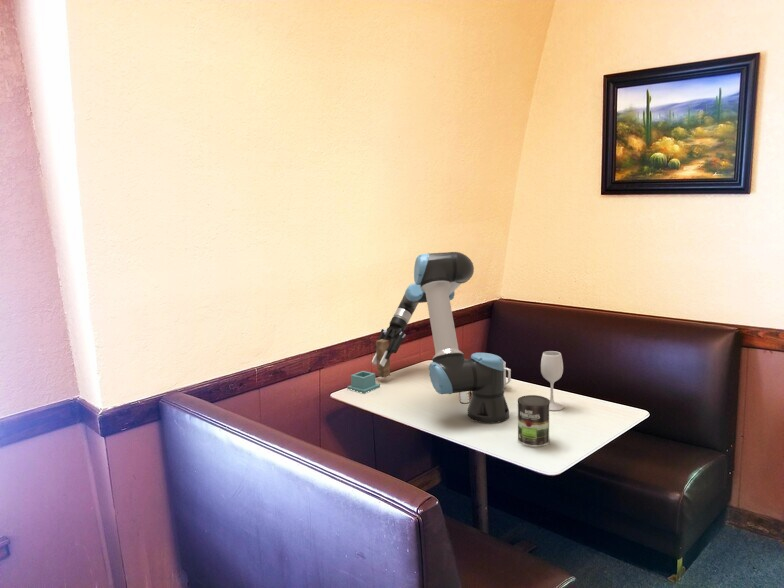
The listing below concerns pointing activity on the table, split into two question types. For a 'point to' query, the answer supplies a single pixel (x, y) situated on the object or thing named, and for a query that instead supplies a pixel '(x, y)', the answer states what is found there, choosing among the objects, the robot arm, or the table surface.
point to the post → (380, 350)
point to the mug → (505, 374)
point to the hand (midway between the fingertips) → (377, 364)
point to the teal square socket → (363, 382)
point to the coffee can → (533, 420)
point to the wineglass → (552, 373)
